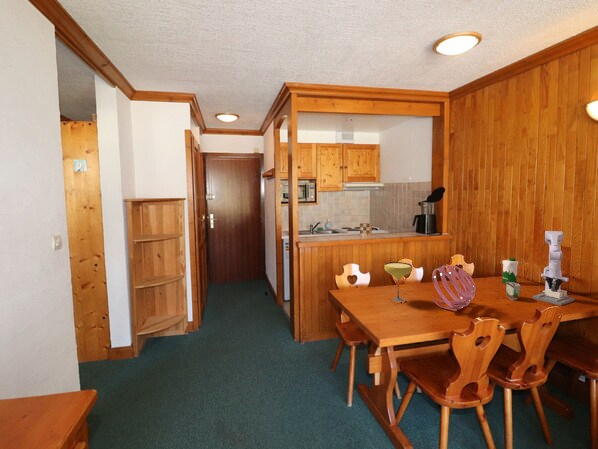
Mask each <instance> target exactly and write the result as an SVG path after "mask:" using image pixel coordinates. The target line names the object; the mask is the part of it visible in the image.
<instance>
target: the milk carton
mask: <svg viewBox="0 0 598 449" xmlns="http://www.w3.org/2000/svg"><path fill="white" fill-rule="evenodd" d="M501 261H502V262H501V263H502V278H501V279H502V281H501V283H503V284H506V282H513V283H517V284H518V278H517V276H518V265H519V261H518V260H516V257H509V259H504V260H501Z"/></svg>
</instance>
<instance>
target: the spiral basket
mask: <svg viewBox="0 0 598 449" xmlns="http://www.w3.org/2000/svg"><path fill="white" fill-rule="evenodd" d="M445 268H446V269H448V271H447V270H446V269H445ZM457 270H458V271H457ZM437 271H439V275H440V276H439V277H440V280H441V282H442V285H443V287H444V289H445V290H446V292H447V293H448V295H449V296H450V297H451V298H452V300H453V301H450V300H449V299H448V298H447V297H446V295H445V294H444V292H443V291H442V289H441V287H440V286H439V283H438V280H437V274H436V272H437ZM431 274H432V276H431V278H432V283H433V285H434V287H435V289H436V292H437V293H438V295H439V296H440V298H441V299H439V298H437V297H434V299H433V298H432V301H433V302H434V304H435V305H436V306H438V307H439V308H441V309H443V308H444V309H445V310H454V311H459V310H461V309H463V308H464V307H468V306H469V305H471V304H470V303H471V301H472V300H473V299H474V297H475V293H476V284H475V281H474V279H473V278H472V276H471V274H470V273H469V272H467V270H465V269H463V268H460V267H459V266H457V265H448V264H447V265H442V266H440V267H437V268H435V269H434V270H433V271H432V273H431ZM456 277H457V278H456ZM447 279H448V280H449V281H450V282H451V284H452V285H453V287H454V288H455V291H456V293H457V295H458V296H457V295H456V294H455V293H454V291H453V290H452V289H451V287H450V285H449V283H448V281H447ZM457 279H458V280H459V281H460V283H461V285H462V286H463V288H464V290H463V288H462V287H461V286H460V283H459V282H458V280H457ZM436 300H437V301H439V302H441V303H444V304H446V305H447V306H449V307H445V306H443V305H440V304H439V303H438V302H437V301H436Z"/></svg>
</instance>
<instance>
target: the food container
mask: <svg viewBox="0 0 598 449" xmlns="http://www.w3.org/2000/svg"><path fill="white" fill-rule="evenodd" d="M505 289H506V292H505V293H506V294H505V295H506V297H507V298H508V299H509V300H511V301H513V302H514V301H518V300H519V298H520V290H521V284H519V283H518V282H517V283H513V282H506V283H505Z"/></svg>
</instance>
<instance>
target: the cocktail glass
mask: <svg viewBox="0 0 598 449" xmlns="http://www.w3.org/2000/svg"><path fill="white" fill-rule="evenodd" d="M383 267H384V268H383V269H384V271H385V272H386V273H387V274H388V275H391V276H393V277H394V278H395V279H396V280H397V292H396V293H397V295H396V297H393V298H394V300H395V301H404V300H403V299H404V298H402V299H401V297H400V296H399V283H400V282H399V280H400V279H401V278H402V277H404V276H407V275H409V274H410V273H412V272H413V264H411V263H408V262H403V261H402V262H401V261H397V262H396V261H391V262H385V263H384V266H383Z"/></svg>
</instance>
